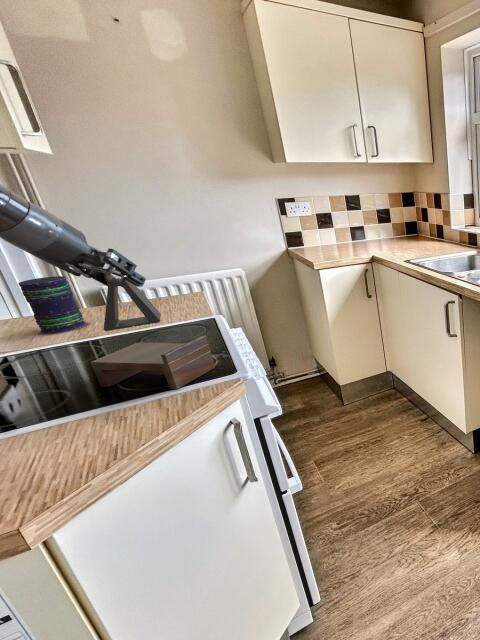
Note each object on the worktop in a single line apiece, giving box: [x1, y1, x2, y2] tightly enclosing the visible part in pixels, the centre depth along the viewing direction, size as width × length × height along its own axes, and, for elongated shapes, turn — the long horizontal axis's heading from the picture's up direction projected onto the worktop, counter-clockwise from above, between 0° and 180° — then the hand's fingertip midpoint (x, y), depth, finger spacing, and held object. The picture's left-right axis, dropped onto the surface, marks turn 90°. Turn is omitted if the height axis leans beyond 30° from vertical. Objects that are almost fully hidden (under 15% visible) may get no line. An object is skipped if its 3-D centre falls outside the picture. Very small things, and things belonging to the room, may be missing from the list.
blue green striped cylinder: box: [17, 275, 86, 335], centre depth 125 cm, size 10×10×15 cm
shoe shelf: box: [90, 335, 216, 390], centre depth 94 cm, size 18×11×8 cm, turn 85°
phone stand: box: [103, 268, 162, 332], centre depth 87 cm, size 9×6×12 cm, turn 126°
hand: (127, 282), depth 88 cm, fingers closed on phone stand, 6 cm apart
